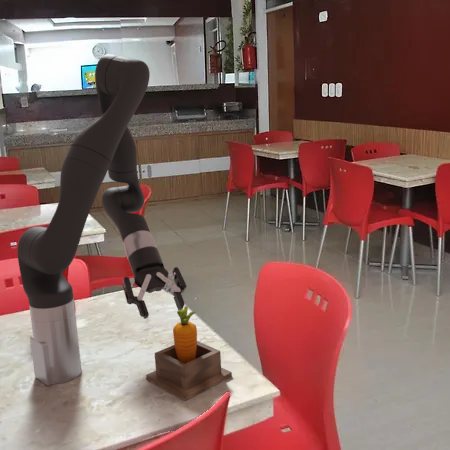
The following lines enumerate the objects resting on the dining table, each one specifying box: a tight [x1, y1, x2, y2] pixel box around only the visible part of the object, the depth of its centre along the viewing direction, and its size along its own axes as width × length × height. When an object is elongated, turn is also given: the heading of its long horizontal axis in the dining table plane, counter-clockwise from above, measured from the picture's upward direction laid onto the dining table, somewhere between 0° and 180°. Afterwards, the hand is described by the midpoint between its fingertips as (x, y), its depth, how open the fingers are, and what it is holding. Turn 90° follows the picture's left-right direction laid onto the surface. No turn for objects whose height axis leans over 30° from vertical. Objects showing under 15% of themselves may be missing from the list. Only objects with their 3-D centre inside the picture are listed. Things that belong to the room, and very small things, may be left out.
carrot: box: [172, 305, 198, 364], centre depth 116 cm, size 5×5×15 cm
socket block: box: [145, 340, 233, 402], centre depth 117 cm, size 13×13×6 cm
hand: (164, 313), depth 125 cm, fingers open, 8 cm apart
